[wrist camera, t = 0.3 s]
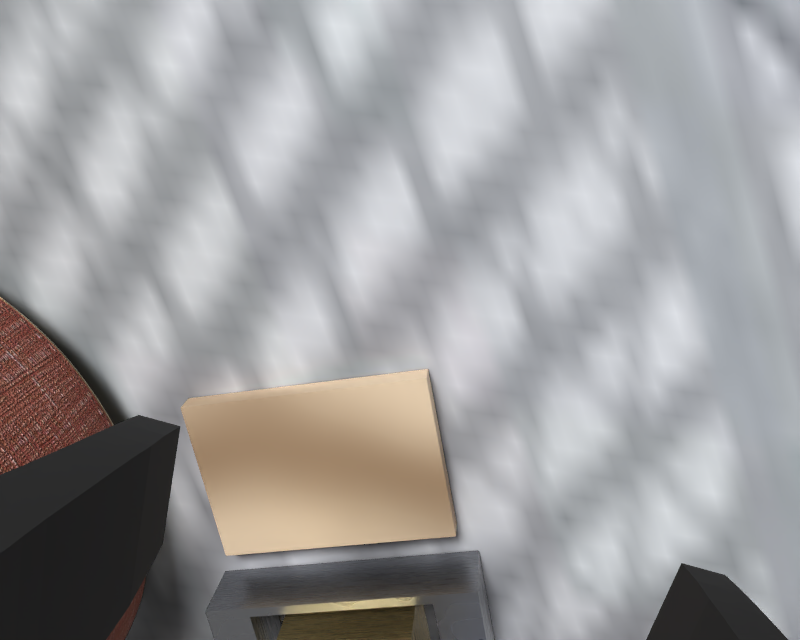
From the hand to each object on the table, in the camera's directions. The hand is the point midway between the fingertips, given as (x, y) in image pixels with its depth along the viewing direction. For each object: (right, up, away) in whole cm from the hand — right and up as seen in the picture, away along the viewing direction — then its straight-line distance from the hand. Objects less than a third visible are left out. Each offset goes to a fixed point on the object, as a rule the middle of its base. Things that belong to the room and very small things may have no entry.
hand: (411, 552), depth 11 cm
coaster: (-2, -1, +11) cm, 12 cm away
